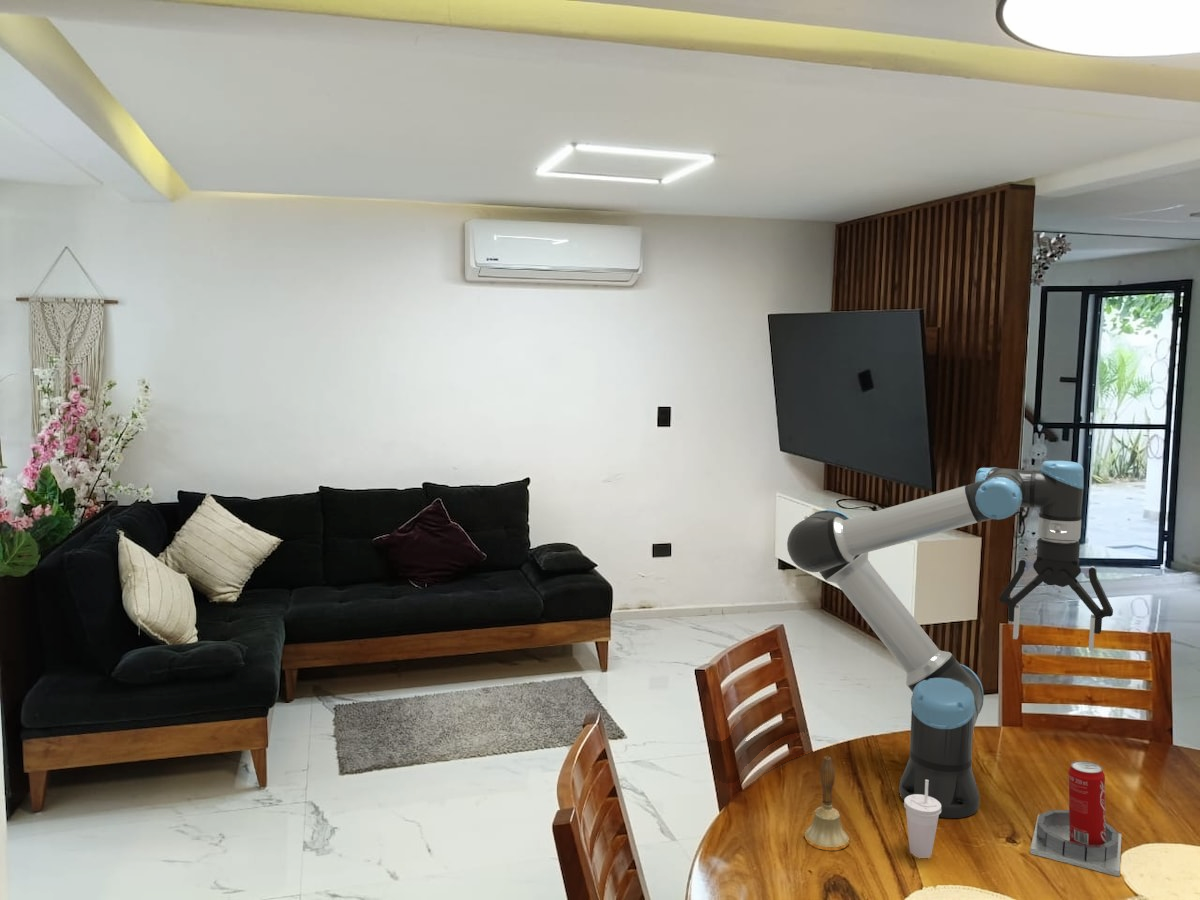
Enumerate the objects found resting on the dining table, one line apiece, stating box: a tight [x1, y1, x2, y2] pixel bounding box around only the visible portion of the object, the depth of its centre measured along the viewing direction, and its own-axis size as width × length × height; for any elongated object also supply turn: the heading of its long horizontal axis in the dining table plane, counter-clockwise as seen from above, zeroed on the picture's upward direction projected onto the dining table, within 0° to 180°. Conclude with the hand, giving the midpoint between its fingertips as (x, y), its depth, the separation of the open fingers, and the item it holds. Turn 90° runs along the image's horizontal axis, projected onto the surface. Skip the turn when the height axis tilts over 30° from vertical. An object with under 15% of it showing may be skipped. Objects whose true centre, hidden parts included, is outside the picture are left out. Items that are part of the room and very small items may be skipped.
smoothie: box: [903, 780, 941, 859], centre depth 163 cm, size 6×6×14 cm
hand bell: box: [804, 755, 850, 847], centre depth 167 cm, size 8×8×16 cm
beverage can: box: [1068, 760, 1106, 845], centre depth 163 cm, size 6×6×15 cm
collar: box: [1029, 809, 1122, 878], centre depth 165 cm, size 14×14×4 cm
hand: (1052, 643), depth 182 cm, fingers open, 13 cm apart
